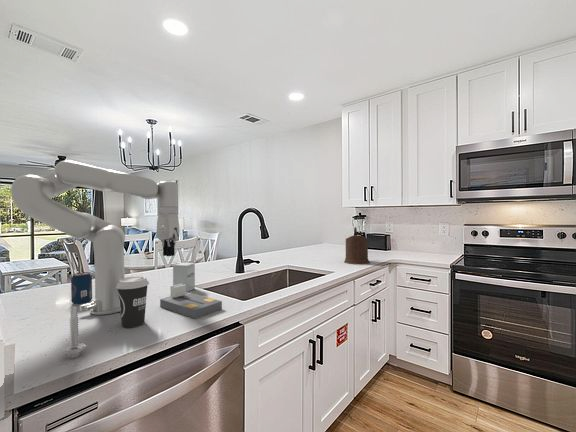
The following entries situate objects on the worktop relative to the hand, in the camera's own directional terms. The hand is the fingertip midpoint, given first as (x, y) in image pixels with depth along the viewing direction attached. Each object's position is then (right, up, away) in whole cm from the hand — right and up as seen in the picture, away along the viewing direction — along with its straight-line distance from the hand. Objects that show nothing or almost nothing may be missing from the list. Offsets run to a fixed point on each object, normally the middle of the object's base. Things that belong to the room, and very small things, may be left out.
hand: (168, 255), depth 116 cm
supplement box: (0, -19, +17) cm, 25 cm away
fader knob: (+5, -16, -4) cm, 17 cm away
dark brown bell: (+100, -18, +91) cm, 137 cm away
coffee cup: (-2, -20, -24) cm, 31 cm away
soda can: (-36, -20, -1) cm, 41 cm away
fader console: (+12, -19, -8) cm, 24 cm away
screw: (-5, -20, -44) cm, 49 cm away
